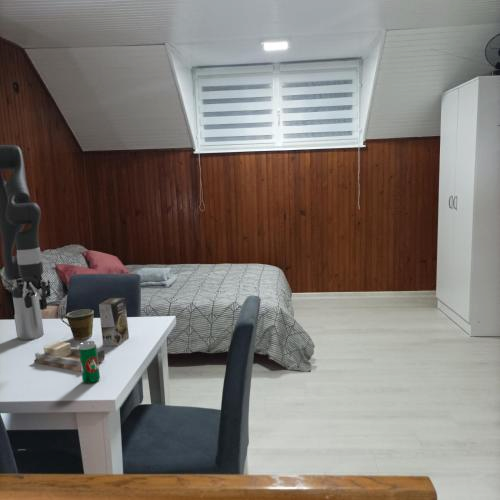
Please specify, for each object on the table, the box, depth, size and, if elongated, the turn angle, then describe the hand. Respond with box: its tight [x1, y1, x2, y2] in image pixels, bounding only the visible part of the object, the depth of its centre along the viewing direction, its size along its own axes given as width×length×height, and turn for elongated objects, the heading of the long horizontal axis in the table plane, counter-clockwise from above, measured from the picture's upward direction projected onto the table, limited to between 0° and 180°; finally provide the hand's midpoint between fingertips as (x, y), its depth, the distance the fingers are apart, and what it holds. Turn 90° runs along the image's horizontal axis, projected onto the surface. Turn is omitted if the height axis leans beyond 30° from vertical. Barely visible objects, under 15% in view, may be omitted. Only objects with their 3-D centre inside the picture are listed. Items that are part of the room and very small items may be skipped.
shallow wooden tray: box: [34, 347, 106, 372], centre depth 153 cm, size 23×10×4 cm, turn 65°
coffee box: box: [98, 297, 130, 347], centre depth 169 cm, size 9×6×16 cm
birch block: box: [43, 340, 71, 357], centre depth 155 cm, size 6×6×4 cm
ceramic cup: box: [60, 308, 95, 341], centre depth 176 cm, size 13×10×10 cm
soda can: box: [78, 340, 101, 385], centre depth 136 cm, size 5×5×12 cm
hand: (36, 308), depth 156 cm, fingers open, 6 cm apart
